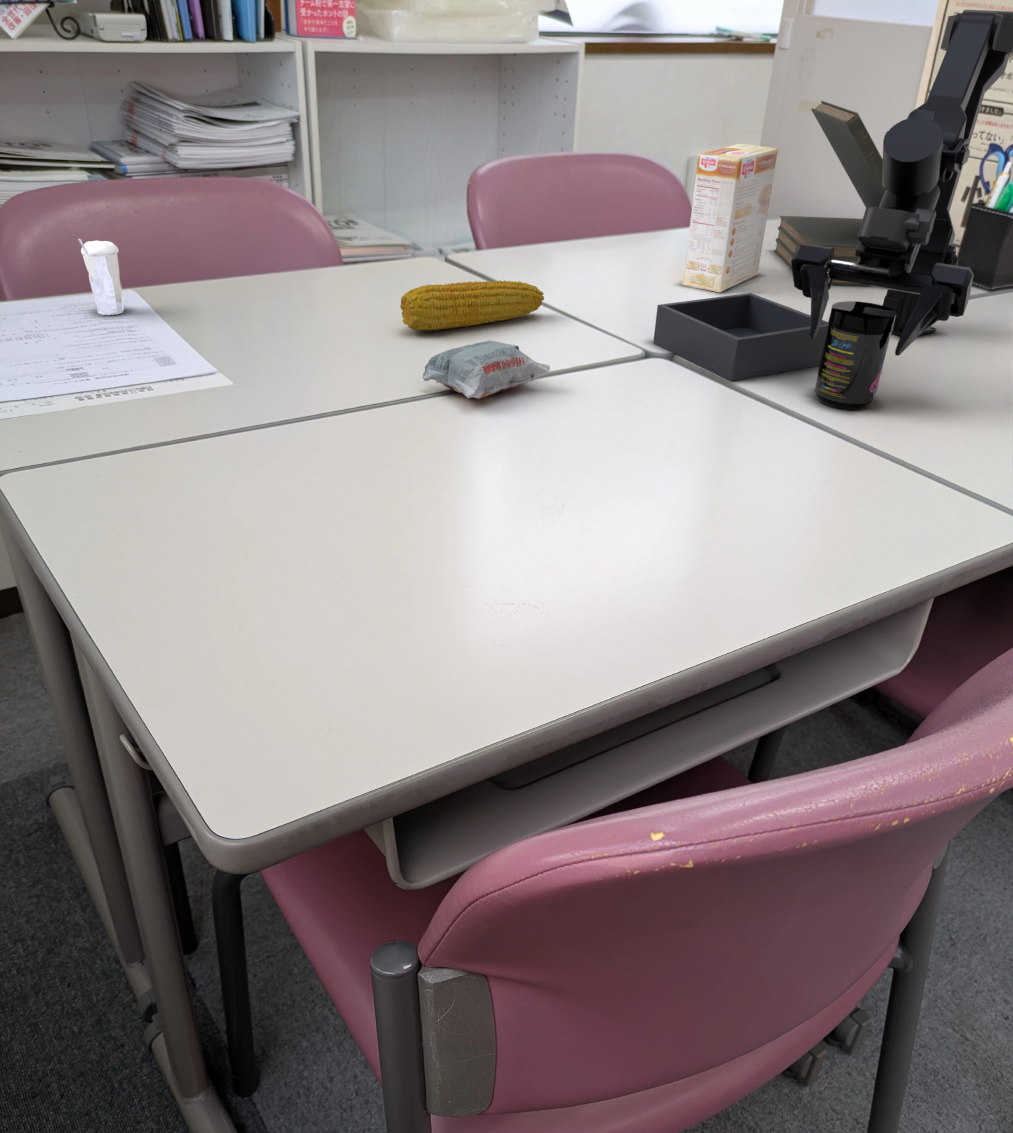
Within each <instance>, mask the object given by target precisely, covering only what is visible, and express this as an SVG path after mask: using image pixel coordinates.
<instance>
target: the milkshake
mask: <svg viewBox="0 0 1013 1133" xmlns="http://www.w3.org/2000/svg"><path fill="white" fill-rule="evenodd" d="M77 240H78V242H79V244H80V246H81V249H80V253H81V258H82V260H83V263H84V267H85V269H86V273H87V277H88V281H89V285H90V288H91V292H92V295H93V299H94V303H95V307H96V311H97V313H98V314H100V315H102V316H114V315H119V314H122V313H124V309H125V308H124V299H123V288H122V279H121V278H122V277H121V266H120V265H121V264H120V250H119V247H118V246H117V245H116V244H115V243H114V242H112V241H109V240H102V241H101V240H97V239H96V240H93V241H91V240H89V241H86V242H85V243H84V242H83V240H82V239H80V238H78V239H77Z"/></svg>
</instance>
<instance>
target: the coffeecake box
mask: <svg viewBox="0 0 1013 1133" xmlns="http://www.w3.org/2000/svg"><path fill="white" fill-rule="evenodd" d="M778 153H779V148H778V147H770V146H763V145H758V144H757V145H756V144H752V143H751V144H750V143H737V144H732V145H729V146H724V147H720V148H715V149H711V150H707V151H702V152H698V153H697V163H696V164H697V165H696V172H695V181H694V188H693V196H692V205H691V212H690V221H689V229H688V238H687V245H686V253H685V260H684V269H683V277H682V283H681V284H682V286H685V287H689V288H694V289H699V290H700V289H701V290H706V291H710V292H711V291H712V292H715V293H723V292H725V291H726V290H728V289H730V288H732V287H734V286H737V285H739V284H741V283H743V282H745V281H747V280H749V279H752V278H753V277H755V276H758V275H759V268H760V263H761V262H760V260H761V255H762V251H763V250H762V249H763V245H764V238H765V232H766V226H767V219H768V214H769V207H770V200H771V194H772V188H773V182H774V175H775V170H776V165H777V157H778Z"/></svg>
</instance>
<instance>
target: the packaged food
mask: <svg viewBox="0 0 1013 1133" xmlns="http://www.w3.org/2000/svg"><path fill="white" fill-rule="evenodd" d="M550 370H551V366H550V365H549V364H546V363H541V362H537V361H535V360H534V359H532V358H531V357H529V356H528V355H527V354H526V353H524V352H522V351H521V350H520V347H519V345H515V344H510V343H505V342H500V341H495V340H491V339H490V340H485V341H480V342H475V343H472V344H467V345H463V346H462V345H461V346H458V347H455V348H454V347H453V348H450V349H447V350H445V351H443V352H440V353H437V354H435V355H433V356H432V357H431V358H429V360H428V362H427V364H426V365H425V366H424V372H423V373H422V379H423V381H424V382H429V381H430V380H433V381H435V382H436V383H437V384H441V385H442V386H444V387H446V388H448V389H450V390H453V391H454V392H457V393H459V394H462V395H464V396H465V397H466V398H467V399H470V398H474V399H478V400H479V399H482V398H485V397H488V396H491V395H493V394H497V393H501V392H505V391H508V390H511V389H513V388H517V387H519V386H522V385H525V384H528V383H531V382H533V381H535V380H536V379H537V378H539V377H542V376H543V375H546V374H548V373H549V372H550Z"/></svg>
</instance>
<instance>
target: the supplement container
mask: <svg viewBox="0 0 1013 1133" xmlns="http://www.w3.org/2000/svg"><path fill="white" fill-rule="evenodd" d="M895 317H896V312H895V311H894V310H892V309H890V308H888V307H885V306H883V304H878V303H873V302H867V301H854V300H853V301H851V300H847V301H846V300H845V301H844V300H843V301H838V302H835V303H832V305H831V308H830V314H829V318H828V322H829V324H828V329H827V333H826V338H825V343H824V347H823V352H822V357H821V361H820V365H818V366H819V367H818V371H817V376H816V381H815V386H814V390H813V393H814V396H815V398H816V400H817V401H819V403H821V404H823V405H825V406H828V407H831V408H834V409H839V410H846V411H859V410H864V409H867V408H869V407H870V406H872V405H873V403H874V402H875V401H876V396H877V391H878V388H879V384H880V380H881V375H882V372H883V368H884V365H885V364H884V363H885V359H886V356H887V351H888V348H889V344H890V340H891V336H892V330H893V325H894V321H895Z"/></svg>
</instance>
